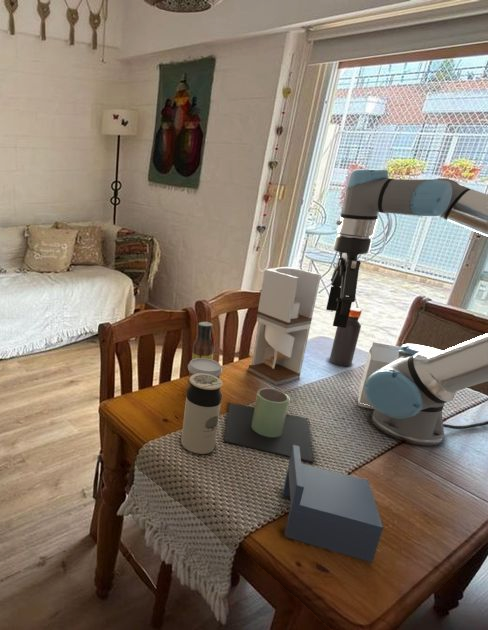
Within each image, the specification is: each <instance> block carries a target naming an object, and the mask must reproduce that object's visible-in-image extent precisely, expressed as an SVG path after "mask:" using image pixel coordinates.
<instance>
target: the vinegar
mask: <svg viewBox="0 0 488 630" xmlns="http://www.w3.org/2000/svg"><path fill="white" fill-rule="evenodd" d="M361 315H362V309H361V308H358V307H353V306H351V308H350V312H349V317H348V321H347V325H346V328H343V327H336V329H335V335H334V337H333V343H332V347H331V351H330V355H329V362H330V363H332V364H334V365H336V366H339V367H350V366H352V364H353V360H354V355H355V352H356V348H357V344H358V339H359V335H360V332H361V328H362V324H361V322H360V321H359V319H360V317H361Z"/></svg>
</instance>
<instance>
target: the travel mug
mask: <svg viewBox="0 0 488 630" xmlns="http://www.w3.org/2000/svg"><path fill="white" fill-rule="evenodd" d="M189 380H190V383H191V385H190V386H188V387H187V389H186V396H185V403H184V404H185V405H184V413H183V422H182V430H181V437H180V438H181V440H180V443H181V445H182V446H183V448H185V449H186V450H187V451H189V452H190V453H194V454H199V455H201V454H202V455H203V454H204V455H205V454H209V453H212V452H213V451H214V449H215V445H216V438H217V432H218V424H219V419H220V412H221V406H222V405H221V404H222V400H223V399H222V398H223V394H222V391H221V388H222V387H223V381H222V380H221V379H220V377H219V378H218V377H216V376H213V375H210V374H203V373H199V374H194V375H192V376H191V377H190V378H189V377H188V381H189Z"/></svg>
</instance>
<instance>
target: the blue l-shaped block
mask: <svg viewBox="0 0 488 630" xmlns="http://www.w3.org/2000/svg"><path fill="white" fill-rule="evenodd" d="M285 475H286V476H285V478H284V483H283V489H282V496H283V497H287V498H290V507H289V512H288V517H287V521H286V525H285V530H284V538H287V539H291V540H294V541H298V542H300V543H305V544H307V545H310V546H315V547H318V548H320V549H323V550H327V551H331V552H334V553H337V554H340V555H344V556H348V557H351V558H354V559H358V560H361V561H364V562H367V563H371V564H372V563H373V561H374V558H375V555H376V552H377V549H378V545H379V543H380V539H381V536H382V533H383V530H384V525H383V522H382V518H381V515H380V512H379V510H378V507H377V503H376V500H375V497H374V495H373V490H372V488H371V485H370V482H369V479H367V478H362V477H358V476H354V475H351V474H346V473H342V472H337V471H333V470H329V469H324V468H321V467H316V466H313V465H312V466H311V465H308V464H304V463H302V460H301V456H300V448H299V446H296V445H293V447H292V451H291V456H290V457H289V461H288V465H287V470H286V474H285Z"/></svg>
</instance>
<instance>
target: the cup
mask: <svg viewBox="0 0 488 630" xmlns="http://www.w3.org/2000/svg"><path fill="white" fill-rule="evenodd" d="M289 403H290V396H289V395H288V394H286V393H285V392H283V391H281V390H278V389H276V388H270V387H265V388H264V387H263V388H260V389H257V391H256V397H255V402H254V407H253V408H254V413H253V418H252V424H251V427H252V429H253V430H254V431H255V432H257V433H258V434H260V435H263V436H266V437H279V436H281V435H282V433H283V428H284V424H285V419H286V414H287V413H288V408H289ZM287 415H288V414H287Z"/></svg>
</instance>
